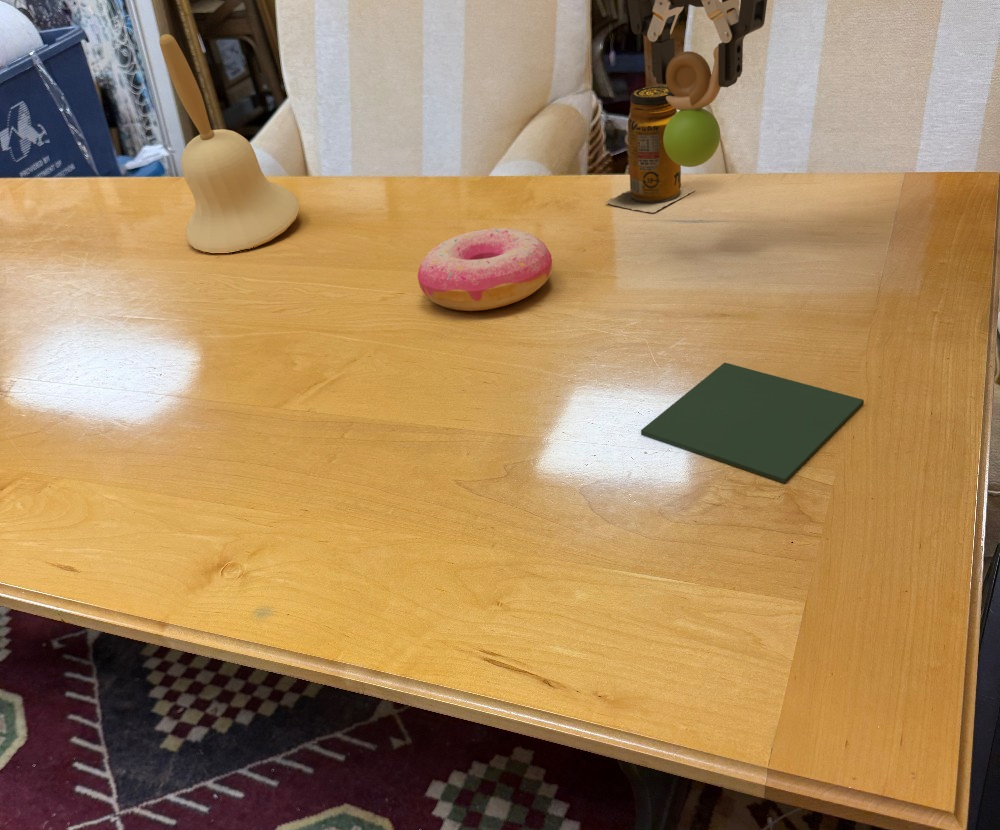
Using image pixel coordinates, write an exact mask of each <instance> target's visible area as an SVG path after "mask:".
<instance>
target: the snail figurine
mask: <svg viewBox="0 0 1000 830" xmlns="http://www.w3.org/2000/svg"><path fill="white" fill-rule="evenodd" d="M712 54H713V60H714V61H713V67H712V71H711V67H710V65H709V63H708V61H707V60H706V58H704V56H702V55H701V54H699V53H697V52H695V51H689V50H687V51H682V52H679V53H676V54H675V56H674V57H673V58H672V59H671V61H670V62H669V64H668V66H667V69H666V74H665V79H666V84H665V85H666V86H668V88H669V90H670V91H671V92H672V93H673V94H674V95H675V96H667V97H666V100H667V101H668V103H669V104H670V105H671V106H672V107H674V108H675V109H676V110H677V113H676V114H675V115H673V116H672V118H671V119H670V120H669V122H668V123H667V125H666V127H665V131H664V136H663V143H664V148H665V151H666V153H667V155H668V156H669V157H670V159H671V160H672V161H674V162H675V163H677V164H678V165H681V167H685V168H694V167H698V166H700V165H703V164H705V163H707V162H708V161H709V160H710V159H711V158H713V156H714V155H715V153H716V152H717V150H718V147H719V145H720V141H721V129H720V125H719V122H718V120H717V118H716V117H715V115H714V114H712V113H711V112H710V111H709V110H708V109H706V107H707V106H708V105H710V104H712V103H713V102H714V101H715V100H716V98H717V97H718V95H719V93H720V90H721V88H722V87H720V86H719V84H718V45H717V46H715V47H714V49H713V52H712Z"/></svg>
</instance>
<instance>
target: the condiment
mask: <svg viewBox="0 0 1000 830" xmlns="http://www.w3.org/2000/svg"><path fill="white" fill-rule="evenodd" d="M667 96H675V95H674V94H673V93H672V92H671V91H670V90H669V88H668V86H667V85H653V86H645V87H641V88H639V89H636V90H633V92H631V94H630V97H629V100H630V107H629V113H630V114H629V118H628V120H627V139H628V159H629V160H628V163H629V164H628V165H629V189H630V190H628V191H625V192H622V193H620V194H619V195H617V196H616V197H613V198H610V199H608V200H607V201H605V202H604V203H605V204H609V205H611V206H615V207H620V208H622V209H623V208H624V209H628V210H629V209H630V210H631V211H634V210H635V211H641V212H644V213H646V212H647V213H651V214H654V213H656V212H657V211H659V210H661V209H663V208H664V207H666V206H669V205H670V204H673V203H674V202H676V201H678V200H681V199H682V198H684V197H686V196H688V195H689V194H692V193H694V192H695V190H696V188H693V187H685V186H683V187H682V170H681V169H682V166H681V165H678V164H677V163H675V162H674V161H672V160H671V159H670V157H669V156H668V155H667V153H666V151H665V148H664V143H663V136H664V131H665V127H666V125H667V123H668V122H669V120H670V119H671V118H672V116H673V115H675V114H676V113H677V112H678V110H677V109H675V108H674V107H672V106H671V105H670V104H669V103H668V101H667V100H666V97H667Z"/></svg>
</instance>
